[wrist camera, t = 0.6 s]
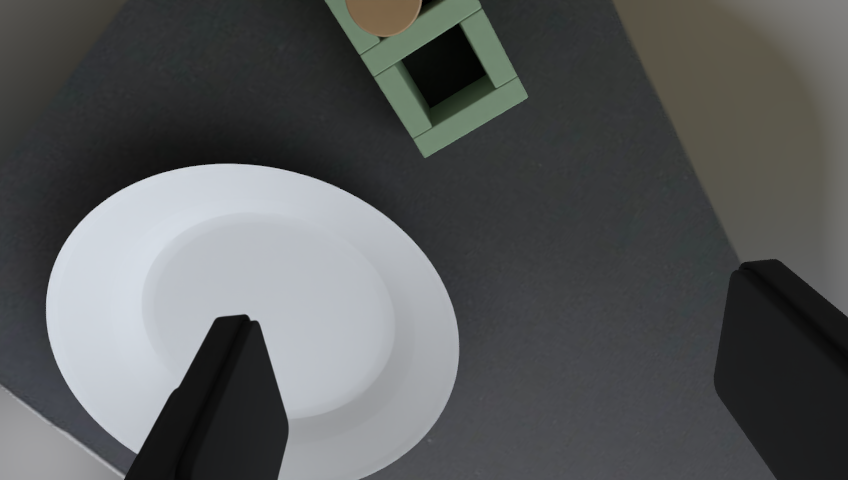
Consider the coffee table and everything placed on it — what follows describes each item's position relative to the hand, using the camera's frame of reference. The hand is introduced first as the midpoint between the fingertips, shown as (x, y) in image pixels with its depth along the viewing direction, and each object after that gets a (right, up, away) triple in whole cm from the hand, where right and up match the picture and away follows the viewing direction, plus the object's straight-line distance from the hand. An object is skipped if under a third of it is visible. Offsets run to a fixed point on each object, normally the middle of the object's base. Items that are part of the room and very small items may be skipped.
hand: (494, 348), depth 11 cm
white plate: (-12, -3, +27) cm, 30 cm away
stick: (-3, +16, +18) cm, 24 cm away
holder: (-2, +14, +18) cm, 23 cm away
